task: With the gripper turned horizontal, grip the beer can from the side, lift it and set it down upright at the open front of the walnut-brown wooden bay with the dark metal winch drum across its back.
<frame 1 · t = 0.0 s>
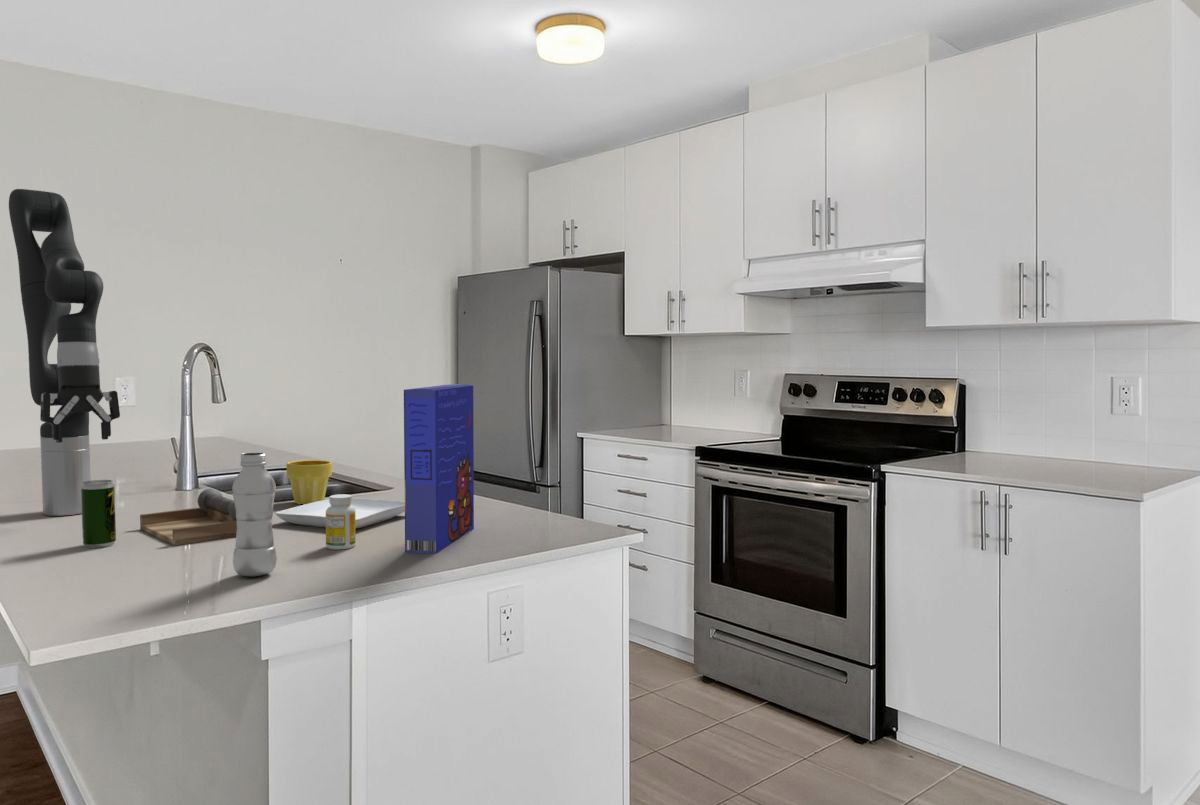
hand: (82, 440, 180), 17 cm above the worktop, tool pointing down, fingers open, 8 cm apart
bay: (194, 531, 172), on the worktop
cereal box: (441, 540, 166), on the worktop
plant pot: (310, 503, 205), on the worktop
beer can: (99, 546, 160), on the worktop
salad plate: (346, 522, 184), on the worktop
supplement bottle: (341, 547, 160), on the worktop
plastic bottle: (255, 576, 139), on the worktop
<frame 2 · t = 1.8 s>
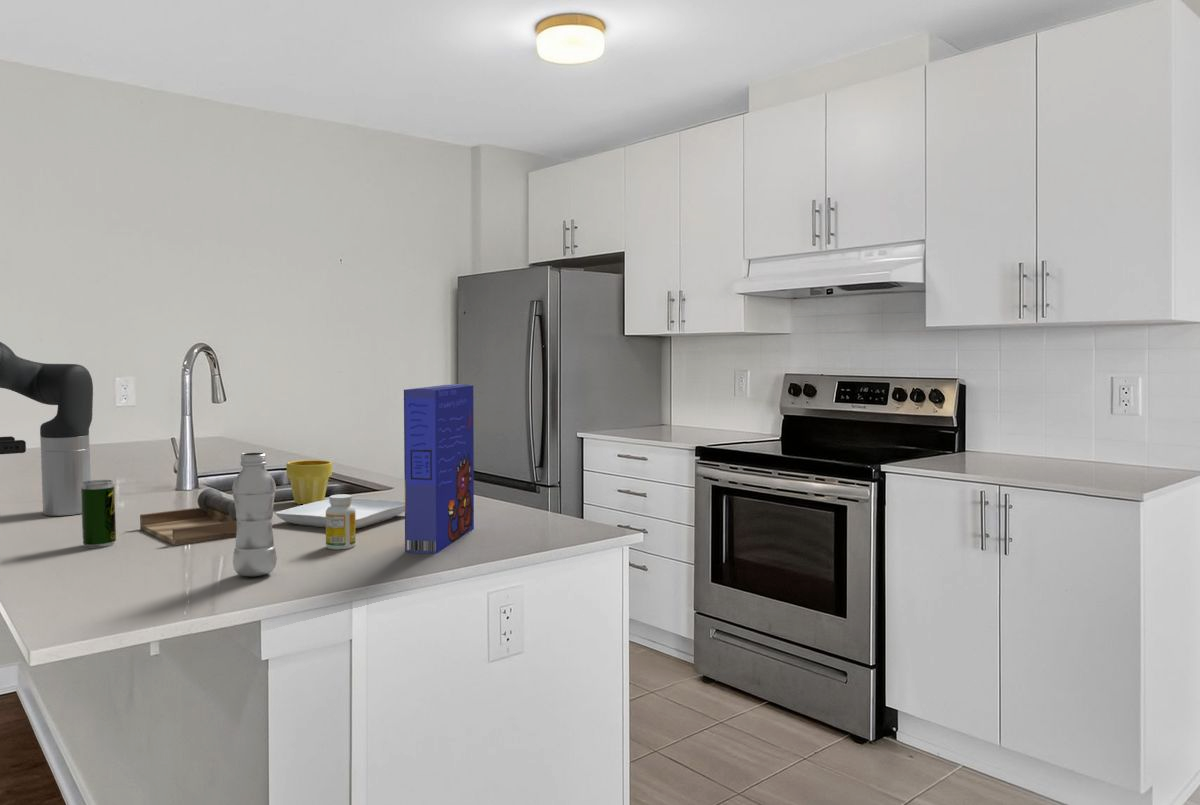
hand: (19, 444, 150), 20 cm above the worktop, tool horizontal, fingers open, 8 cm apart
nothing on the worktop moved.
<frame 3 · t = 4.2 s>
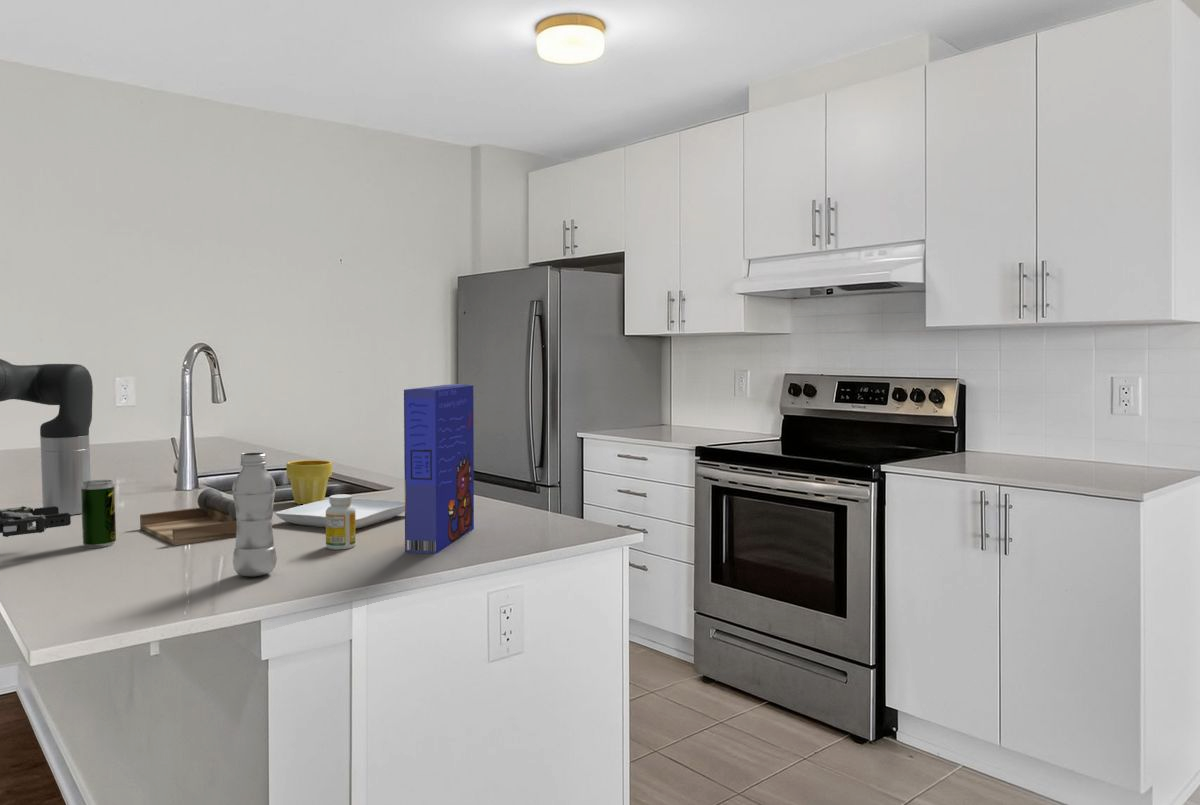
hand: (64, 515, 155), 6 cm above the worktop, tool horizontal, fingers open, 8 cm apart
nothing on the worktop moved.
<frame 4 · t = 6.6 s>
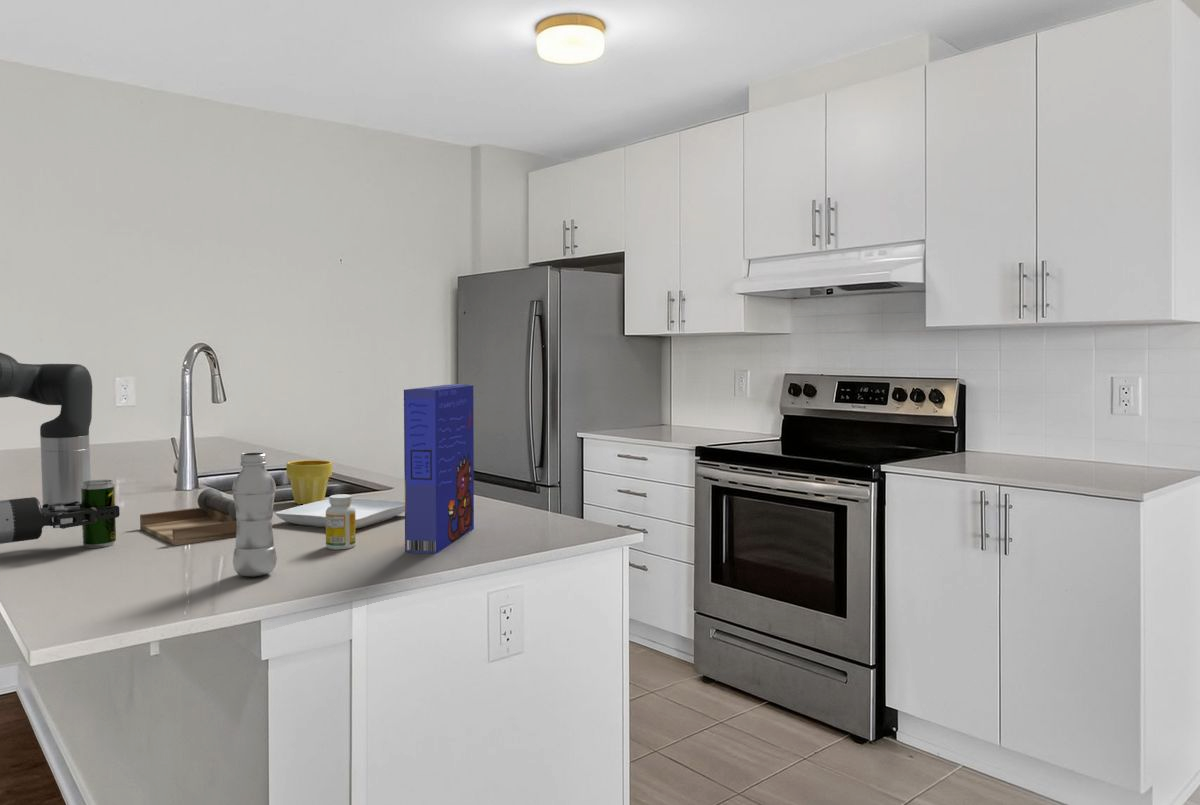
hand: (113, 508, 161), 7 cm above the worktop, tool horizontal, fingers closed on beer can, 5 cm apart
beer can: (99, 546, 160), on the worktop, touching gripper
everything else where it was.
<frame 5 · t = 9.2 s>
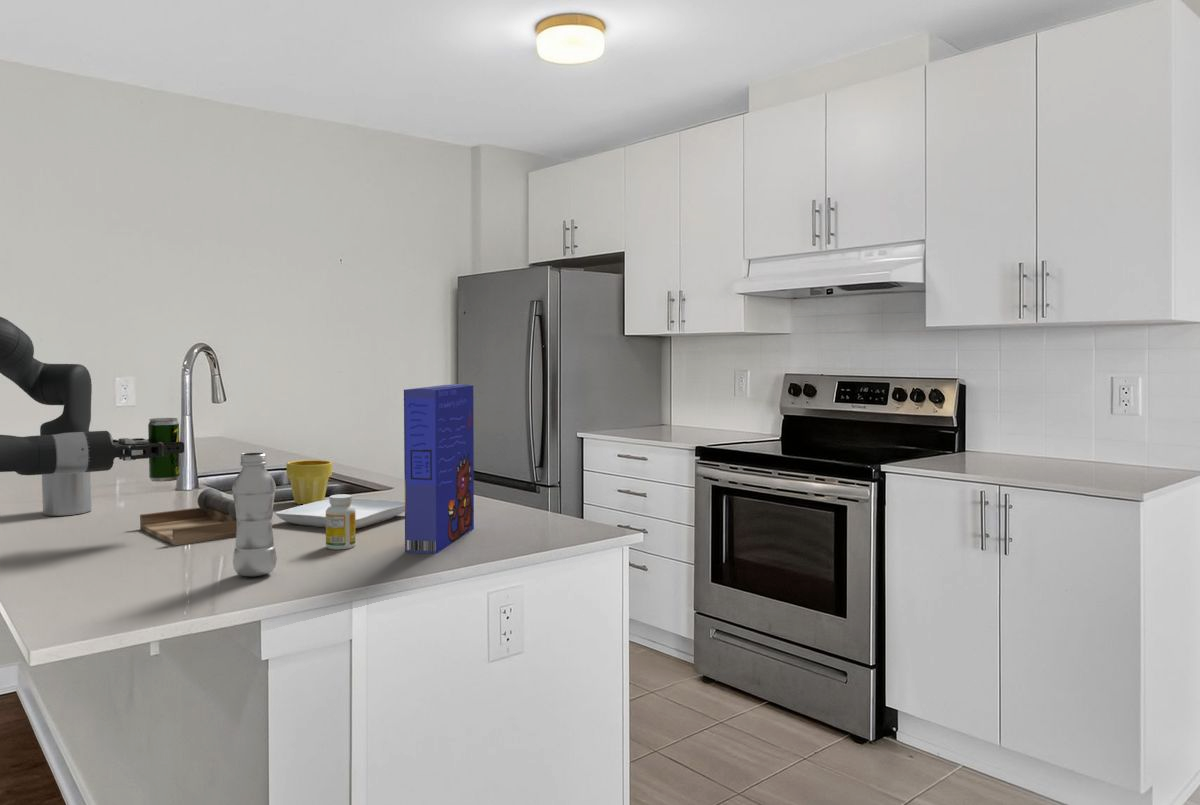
hand: (178, 445, 169), 18 cm above the worktop, tool horizontal, fingers closed on beer can, 5 cm apart
beer can: (164, 480, 167), point 11 cm above the worktop, touching gripper
everything else where it was.
when the fingers open (9 cm above the worktop, at t = 12.0 s): beer can drops 1 cm, resting on bay.
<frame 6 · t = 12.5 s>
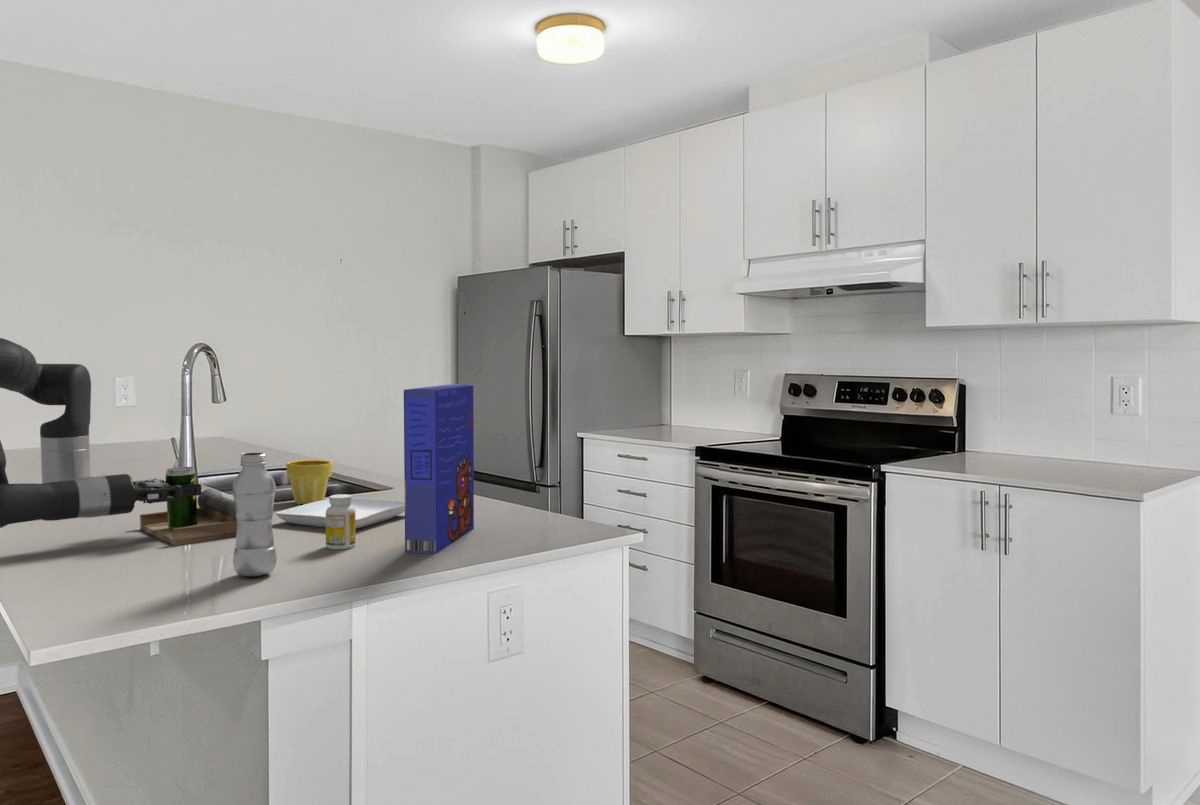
hand: (192, 486, 171), 9 cm above the worktop, tool horizontal, fingers open, 8 cm apart
beer can: (183, 529, 170), point 1 cm above the worktop, touching bay
everything else where it was.
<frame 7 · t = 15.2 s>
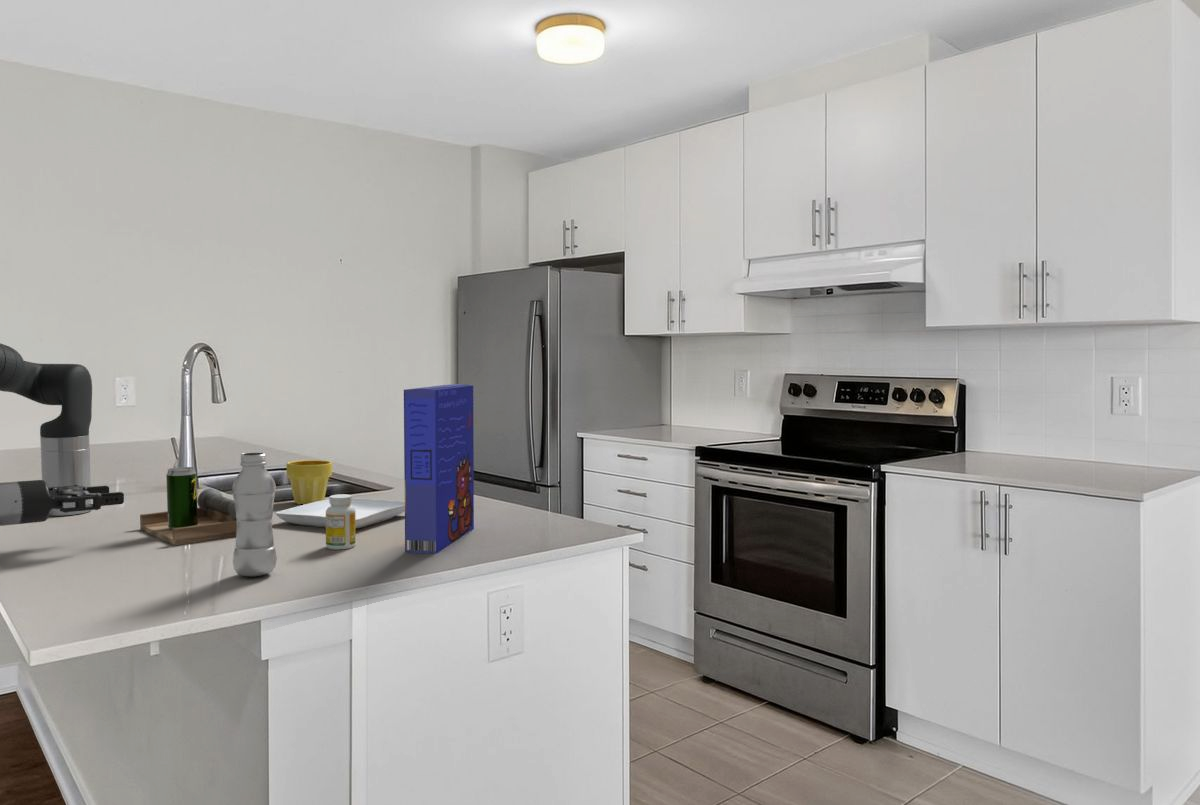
hand: (115, 494, 162), 9 cm above the worktop, tool horizontal, fingers open, 8 cm apart
nothing on the worktop moved.
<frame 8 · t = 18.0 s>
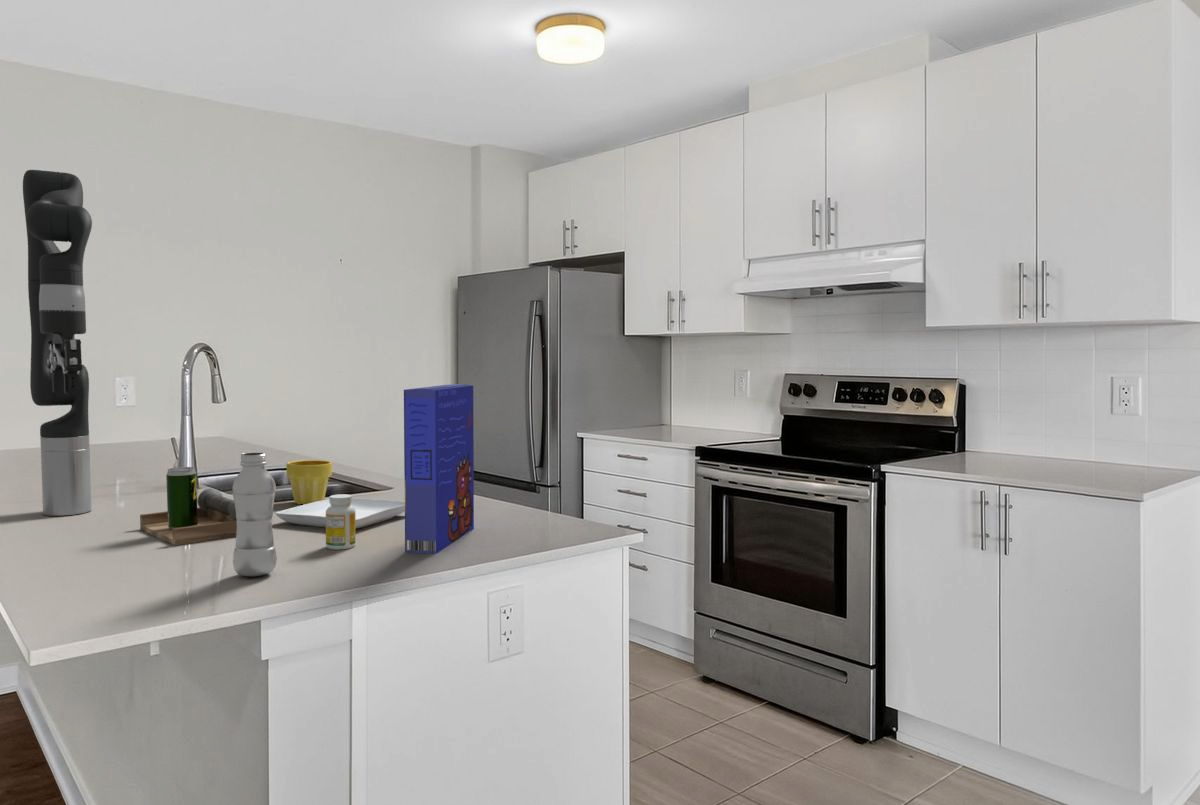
hand: (65, 393, 165), 28 cm above the worktop, tool pointing down, fingers open, 8 cm apart
nothing on the worktop moved.
at the end: beer can inside the target area on the bay (0.9 cm from its centre), point 0.8 cm above the bay's base; beer can tilted 0°; the gripper is holding nothing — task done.
